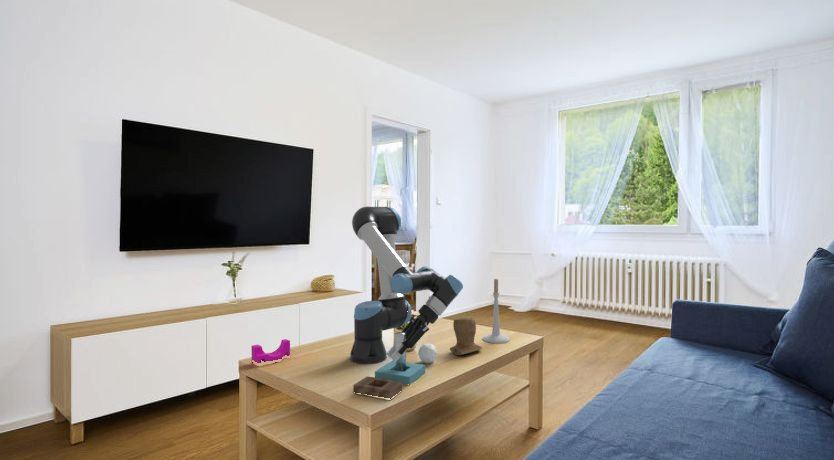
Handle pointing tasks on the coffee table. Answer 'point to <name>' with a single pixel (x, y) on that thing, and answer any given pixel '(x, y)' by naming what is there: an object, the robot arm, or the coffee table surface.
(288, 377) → the coffee table surface
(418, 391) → the coffee table surface
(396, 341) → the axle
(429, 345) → the geometric ball
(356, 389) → the brown rectangular frame
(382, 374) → the seat block
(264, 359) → the magenta curved bracket
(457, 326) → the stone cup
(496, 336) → the candlestick
